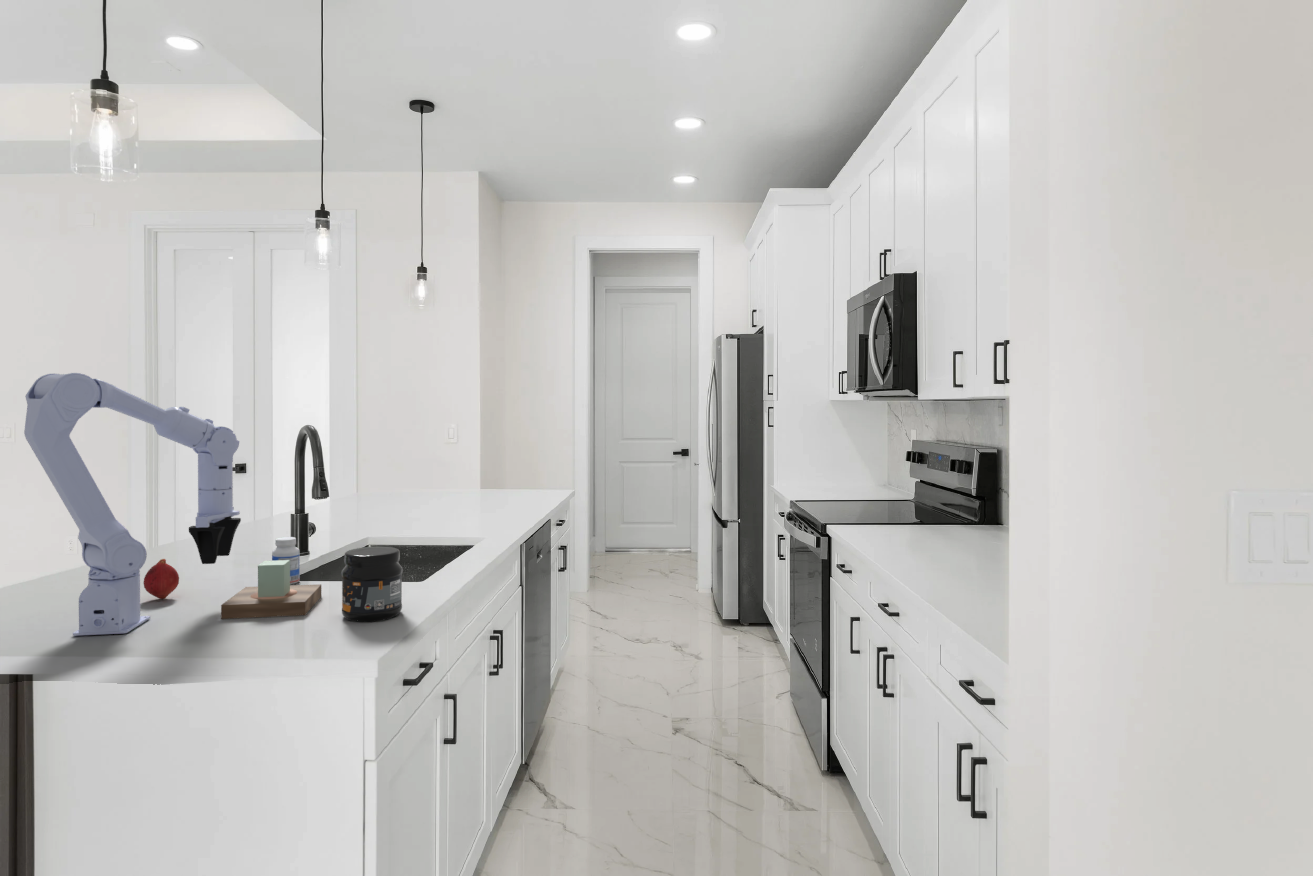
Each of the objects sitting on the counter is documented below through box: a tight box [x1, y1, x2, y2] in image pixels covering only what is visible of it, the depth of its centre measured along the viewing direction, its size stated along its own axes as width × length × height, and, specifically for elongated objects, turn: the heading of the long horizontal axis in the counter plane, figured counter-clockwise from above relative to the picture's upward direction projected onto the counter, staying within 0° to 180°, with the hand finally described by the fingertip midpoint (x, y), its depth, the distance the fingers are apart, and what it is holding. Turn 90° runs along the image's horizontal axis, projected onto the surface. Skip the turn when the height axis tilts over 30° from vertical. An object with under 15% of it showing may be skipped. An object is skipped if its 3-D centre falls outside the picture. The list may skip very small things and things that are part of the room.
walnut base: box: [220, 583, 322, 620], centre depth 143 cm, size 14×14×3 cm
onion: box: [142, 558, 180, 600], centre depth 148 cm, size 6×6×8 cm
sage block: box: [257, 560, 290, 597], centre depth 143 cm, size 4×4×6 cm
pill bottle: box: [271, 536, 301, 585], centre depth 163 cm, size 6×5×10 cm
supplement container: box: [340, 546, 403, 623], centre depth 138 cm, size 10×10×12 cm
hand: (216, 559), depth 143 cm, fingers open, 7 cm apart
